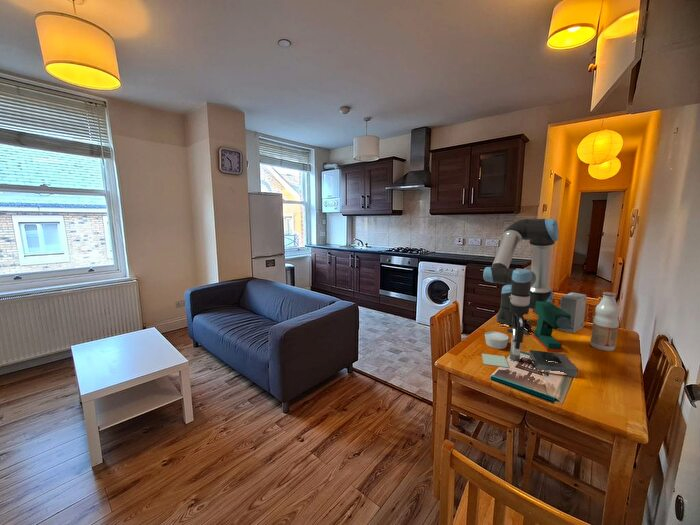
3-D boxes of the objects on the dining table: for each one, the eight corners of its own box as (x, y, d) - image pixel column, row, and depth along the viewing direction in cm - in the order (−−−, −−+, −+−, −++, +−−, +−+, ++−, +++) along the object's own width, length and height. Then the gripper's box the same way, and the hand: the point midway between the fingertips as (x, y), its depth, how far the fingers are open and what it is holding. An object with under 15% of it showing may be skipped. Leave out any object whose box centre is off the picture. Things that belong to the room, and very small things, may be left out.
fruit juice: (593, 349, 144) (600, 294, 139) (588, 341, 152) (594, 289, 147) (617, 352, 139) (626, 296, 135) (611, 345, 148) (619, 291, 143)
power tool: (579, 366, 128) (584, 323, 125) (561, 365, 129) (566, 322, 126) (546, 336, 159) (549, 301, 155) (532, 335, 160) (535, 300, 157)
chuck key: (504, 356, 138) (506, 326, 135) (523, 358, 135) (526, 328, 133) (505, 360, 134) (508, 329, 132) (525, 362, 132) (528, 331, 129)
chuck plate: (529, 356, 137) (529, 349, 137) (564, 361, 133) (564, 354, 132) (537, 371, 124) (538, 364, 123) (576, 377, 120) (577, 369, 119)
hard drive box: (568, 323, 176) (571, 291, 173) (583, 327, 170) (587, 294, 167) (557, 329, 168) (560, 296, 164) (573, 333, 162) (577, 299, 158)
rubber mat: (481, 354, 140) (481, 353, 140) (504, 357, 137) (504, 356, 137) (483, 364, 131) (483, 363, 131) (508, 367, 128) (508, 367, 128)
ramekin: (494, 338, 157) (494, 329, 156) (513, 347, 147) (514, 337, 146) (479, 343, 152) (479, 333, 151) (498, 352, 142) (498, 342, 142)
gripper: (506, 297, 139) (503, 343, 143) (513, 309, 123) (509, 359, 127) (524, 299, 137) (520, 345, 141) (534, 310, 121) (529, 362, 125)
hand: (515, 352), depth 134 cm, fingers closed on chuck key, 4 cm apart
